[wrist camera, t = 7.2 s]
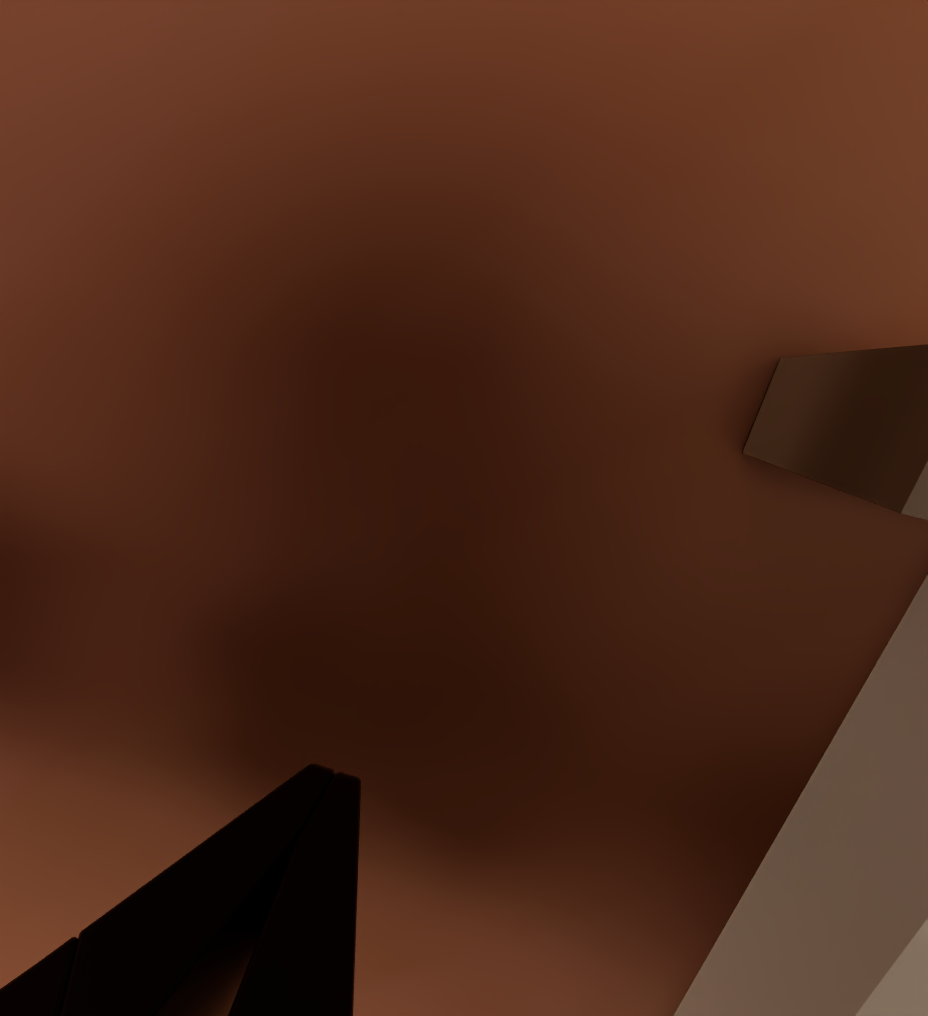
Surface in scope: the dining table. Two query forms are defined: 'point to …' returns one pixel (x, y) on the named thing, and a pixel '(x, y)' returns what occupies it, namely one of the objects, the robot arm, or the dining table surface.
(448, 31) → the dining table surface
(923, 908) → the door panel
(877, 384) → the cabinet frame
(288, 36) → the dining table surface
